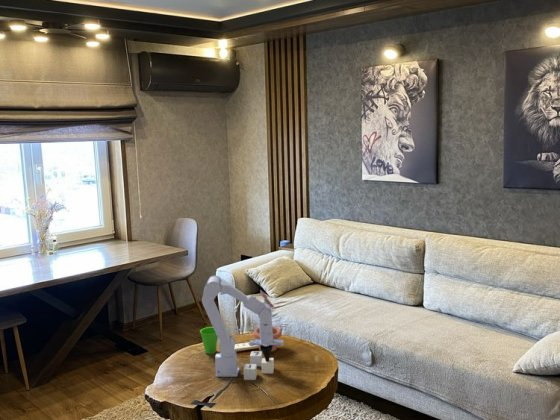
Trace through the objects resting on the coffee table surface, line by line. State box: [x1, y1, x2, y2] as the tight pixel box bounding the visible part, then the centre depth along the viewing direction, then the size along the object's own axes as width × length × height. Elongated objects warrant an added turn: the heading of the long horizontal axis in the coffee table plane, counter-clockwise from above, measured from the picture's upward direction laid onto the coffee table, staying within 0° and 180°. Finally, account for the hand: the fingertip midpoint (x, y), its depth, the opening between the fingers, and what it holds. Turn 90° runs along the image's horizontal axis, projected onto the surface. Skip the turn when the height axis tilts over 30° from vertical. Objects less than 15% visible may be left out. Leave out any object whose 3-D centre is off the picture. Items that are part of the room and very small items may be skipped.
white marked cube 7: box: [249, 350, 263, 367], centre depth 259 cm, size 5×5×5 cm
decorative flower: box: [252, 289, 283, 353], centre depth 272 cm, size 15×14×30 cm
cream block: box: [260, 357, 275, 374], centre depth 252 cm, size 5×5×5 cm
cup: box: [199, 326, 218, 355], centre depth 274 cm, size 9×9×11 cm
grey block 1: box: [243, 363, 258, 381], centre depth 247 cm, size 5×5×5 cm
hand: (267, 360), depth 252 cm, fingers closed, pressing on cream block
